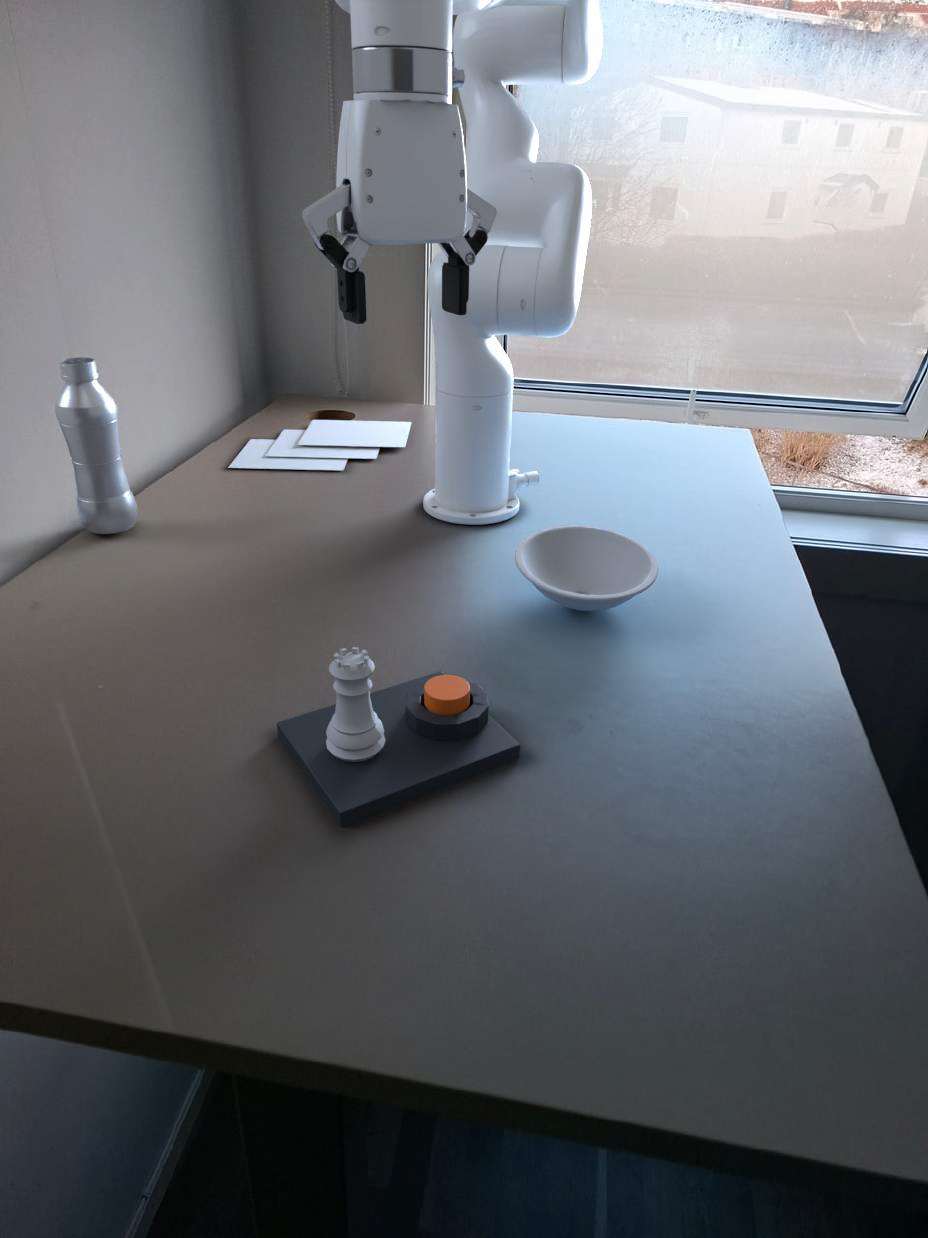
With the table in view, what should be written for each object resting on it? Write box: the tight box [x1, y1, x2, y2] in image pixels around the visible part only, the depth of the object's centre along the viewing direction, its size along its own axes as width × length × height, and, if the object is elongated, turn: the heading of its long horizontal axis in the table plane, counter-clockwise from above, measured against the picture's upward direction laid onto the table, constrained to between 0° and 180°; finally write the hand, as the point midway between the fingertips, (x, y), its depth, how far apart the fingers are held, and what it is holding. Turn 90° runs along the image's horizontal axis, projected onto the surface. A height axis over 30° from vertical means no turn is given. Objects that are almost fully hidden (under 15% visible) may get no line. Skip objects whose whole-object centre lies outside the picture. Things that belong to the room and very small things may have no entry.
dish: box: [514, 524, 659, 612], centre depth 86 cm, size 18×14×5 cm
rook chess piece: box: [326, 646, 385, 762], centre depth 61 cm, size 4×4×8 cm
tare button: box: [424, 674, 470, 715], centre depth 66 cm, size 4×4×2 cm
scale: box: [276, 671, 521, 828], centre depth 65 cm, size 15×12×3 cm
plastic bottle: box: [54, 356, 138, 535], centre depth 97 cm, size 6×7×20 cm
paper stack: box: [227, 419, 412, 472], centre depth 131 cm, size 23×25×1 cm
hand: (405, 316), depth 72 cm, fingers open, 9 cm apart
